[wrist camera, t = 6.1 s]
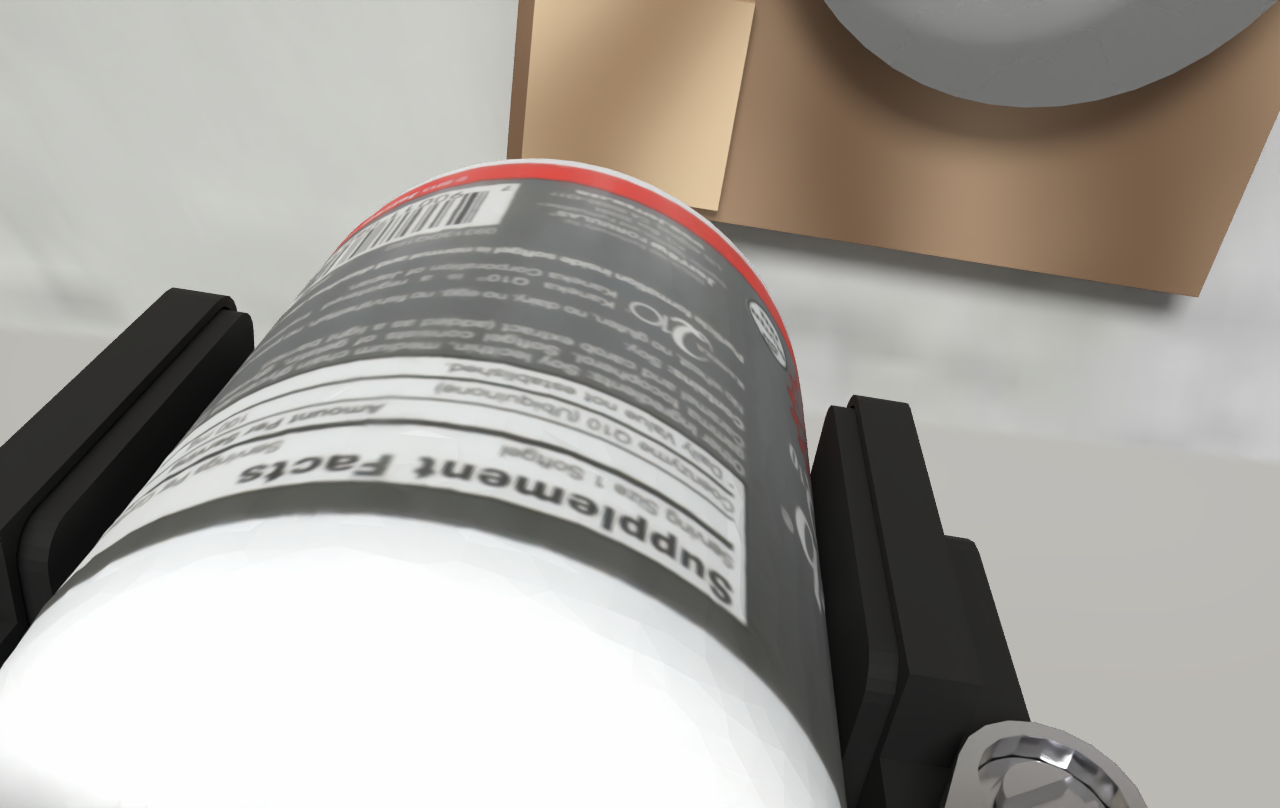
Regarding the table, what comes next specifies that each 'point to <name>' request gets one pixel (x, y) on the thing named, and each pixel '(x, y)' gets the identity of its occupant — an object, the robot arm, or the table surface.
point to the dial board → (894, 138)
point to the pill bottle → (464, 538)
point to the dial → (1043, 43)
